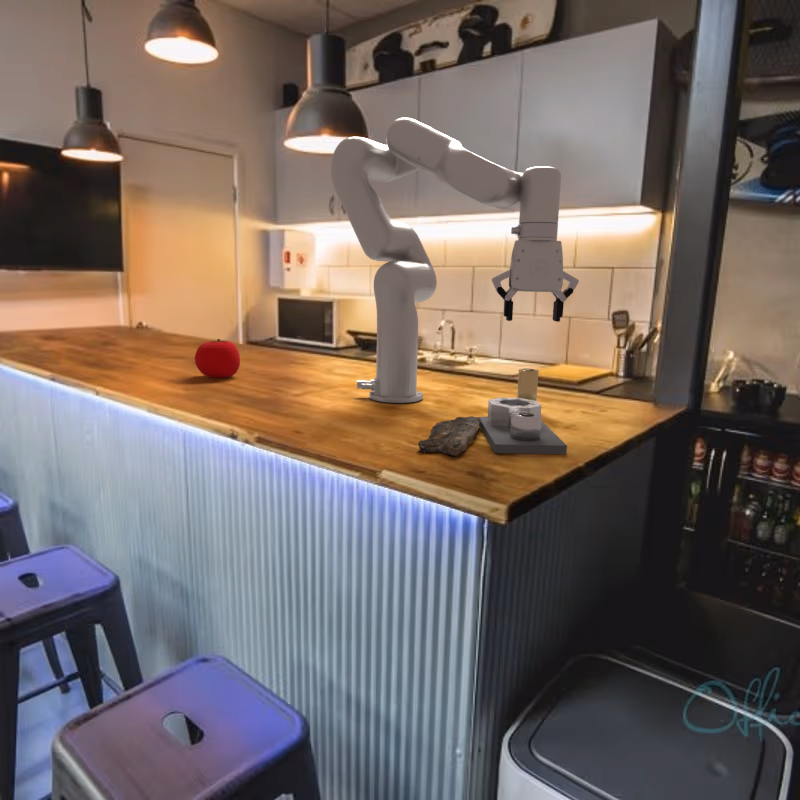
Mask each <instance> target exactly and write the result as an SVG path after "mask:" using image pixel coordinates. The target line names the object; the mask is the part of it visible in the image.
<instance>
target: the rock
mask: <svg viewBox="0 0 800 800" xmlns="http://www.w3.org/2000/svg"><path fill="white" fill-rule="evenodd" d="M479 417H480V416H473V415H469V416H458V417H456V418H453V419H448V420H442V421H440V422H436V423H435V425H433V426H432V427H431V430H430V435H429V436H428V438H426V439H424V440H418V442H417V445H418V448H419V450H420V452H421V453H423V454H424V453H425V454H428V453H441V454H444V455H449V456H451V457H457V456H459V455H460V454H462V453H463V452H464V451H466V450H467V446H469V445H471V443H472V442H474V440H475V435H476V433H477V432H478V430H479V428H480V427H479V425H480V422H481V418H479Z"/></svg>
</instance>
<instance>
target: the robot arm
mask: <svg viewBox="0 0 800 800" xmlns="http://www.w3.org/2000/svg"><path fill="white" fill-rule="evenodd" d="M385 143H386V144H385ZM385 143H384V144H383V143H381V142H378V141H375V140H373V139H370V138H366V137H363V136H349V137H347V138H344V139H343V140H341V141H340V142H339V143H338V144H337V146H336V148H335V149H334V151H333V154H332V158H331V163H330V177H331V182H332V186H333V188H334V191H335V193H336V196H337V197H338V199H339V201H340V203H341V204H342V207H343V209H344V211H345V213H346V215H347V217H348V219H349V222H350V224H351V228H352V230H353V231H354V234H355V235H356V238H357V240H358V242H359V245H360V247H361V249H362V251H363V253H364V254H365V256H366V257H368V258H369V259H370V260H373V261H375V262H376V261H378V262H385V263H383V264H382V265H381V266H380V267H378V269H377V270H376V273H375V275H374V277H373V292H374V293H373V294H374V299H375V305H376V307H375V308H376V364H375V365H376V369H375V371H376V375H375V376H374V379H370V380H359V379H358V380H356V389H361V390H370V392H369V395H368V396H369V399H371V400H373V401H376V402H382V403H390V404H392V403H393V404H405V403H406V404H407V403H416V402H419V401H422V400H423V399H424V394H423V393H422V392H420V391H418V390H417V386H418V385H417V383H418V382H417V379H418V349H419V316H418V312H417V307H416V303H423V302H426V301H428V300H429V299H430V298H431V297H432V296H433V295H434V293H435V292H436V290H437V280H438V279H437V276H436V271H435V268H434V267H433V265H432V263H431V260H430V257H429V256H428V254H427V252H426V250H425V248H424V245H423V243H422V241H421V240H420V239H421V238H420V237H419V235H418V233H417V232H416V231H415V229H414V228H413V227H412V226H410V225H409V224H407V223H406V222H403V221H400V220H394V219H392V218H391V216H390V215H389V214H388V212H387V210H386V208H385V206H384V204H383V201H382V198H381V197H380V195H379V194H378V193H377V191H376V190H375V188H374V187H373V186H372V184H370V182H369V181H371V182H374V183H380V184H385V183H391V182H393V181H396V180H398V179H401V178H404V177H405V176H408V175H409V174H412V173H415V172H417V171H419V170H420V171H422V172H424V173H426V174H427V175H429V176H431V177H433V178H435V179H436V180H439V181H440V182H441V183H444V184H446V185H447V186H449V187H450V188H453V189H454V190H456V191H458V192H459V193H462V194H463V195H465V196H466V197H469V198H470V199H472V200H475V201H476V202H479V203H481V204H482V205H485V206H488V207H493V208H497V209H500V210H504V211H512V210H517V209H519V215H518V216H519V218H518V225H516V226H513V227H511V232H510V233H511V235H515V236H516V237H517V239H516V240H515V241H514V244H513V247H512V253H511V256H510V257H511V258H510V265H509V269H508V270H506V271H504V272H501V273H500V274H497V275H496V276H494V277H491V282H492V285H493V287H494V289H495V291H496V292H497V294H498V295H499V296H500V297H501V298H502V300H503V317H505V320H506V321H508V322H511V321H513V315H514V314H513V313H514V301H513V299H512V298H513V297H514V296H515V295H516V294H517V293H518V292H527V293H529V292H531V293H532V292H534V293H535V292H536V293H538V292H539V293H551V294H552V295H553V296H554V298H555V301H553V308H552V309H553V310H552V321H553V322H555V323H556V322H558V323H560V322H561V318H563V315H564V305H565V304H564V303H565V302H566V300H567V299H568V298H569V297H570V296H571V295H572V294H573V293H574V291H575V289H576V288H577V286H578V285H579V281H580V280H579V279H578V278H576V277H575V276H573V275H571V274H569V273H568V272H566V271H564V257H563V255H564V253H563V246H562V244H563V243H562V240H558V229H559V228H558V227H559V214H560V213H559V212H560V202H561V201H560V197H561V182H562V173H561V171H560V170H559V169H558V168H556V167H553V166H546V165H545V166H542V165H541V166H532V167H529V168H526V169H525V170H524V171H523V172H518V171H515V170H511V169H510V168H509V169H508V168H506V167H504V166H501V165H499V164H496V163H494V162H492V161H490V160H488V159H487V158H484V157H483V156H480V155H479V154H476V153H474V152H472V151H470V150H469V149H467V148H465V147H463V145H462V143H461V142H460V141H459V140H456V139H455V138H453V137H450V136H449V135H447V134H444V133H443V132H440V131H438V130H437V129H434V128H433V127H432V126H430V125H427V124H425V123H423V122H420V121H418V120H417V119H415V118H411V117H400V118H397V119H395V120H394V121H392V122H391V123H390V124H389V126H388V128H387V131H386V133H385ZM506 279H508V289H507V290H505V289H504V287H503V286H502V283H501V282H503V281H504V280H506ZM564 281H566V283H568V285H567V287H566V288H565V289H564V290H563V291H562V288H563V285H564Z"/></svg>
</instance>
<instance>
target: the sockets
mask: <svg viewBox="0 0 800 800" xmlns="http://www.w3.org/2000/svg"><path fill="white" fill-rule="evenodd" d="M487 404H488V406H487V417H488V422H489V423H490V425H493V426H497V427H502V428H506V429H510V437H511V438H512V439H515V440H519V441H538V440H540V436H541V423H542V422H543V420H542V419H543V415H542V413H541V411H542V404H541V403H540V402H538V401H537V400H536V401H534V400H528V399H523V398H517V397H497V398H492V399H488V403H487Z"/></svg>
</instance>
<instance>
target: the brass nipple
mask: <svg viewBox="0 0 800 800" xmlns="http://www.w3.org/2000/svg"><path fill="white" fill-rule="evenodd" d="M539 371H540V370H538V369H535V368H519V369H518V376H517V377H518V379H517V391H516V392H517V393H516V394H517V396H516V398H523V399H528V400H534V401H537V398H538V397H537V395H538V383H539Z"/></svg>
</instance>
